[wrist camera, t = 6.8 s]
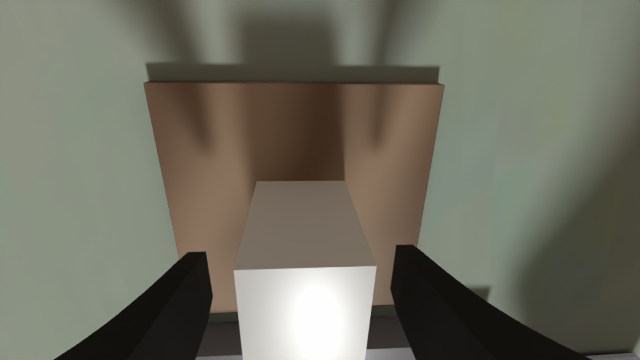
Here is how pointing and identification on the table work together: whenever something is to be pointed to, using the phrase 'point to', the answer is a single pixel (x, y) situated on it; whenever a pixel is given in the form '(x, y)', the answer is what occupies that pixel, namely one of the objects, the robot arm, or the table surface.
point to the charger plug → (304, 274)
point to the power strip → (381, 352)
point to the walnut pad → (292, 160)
